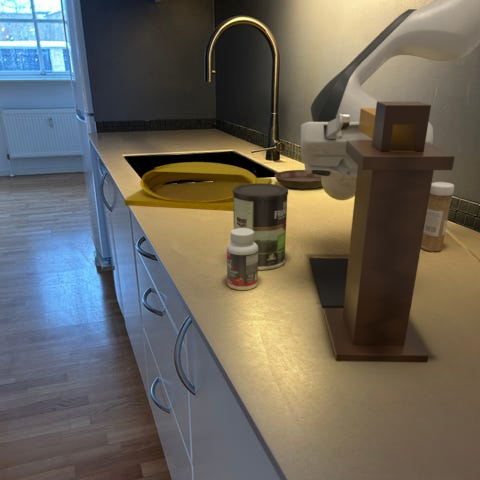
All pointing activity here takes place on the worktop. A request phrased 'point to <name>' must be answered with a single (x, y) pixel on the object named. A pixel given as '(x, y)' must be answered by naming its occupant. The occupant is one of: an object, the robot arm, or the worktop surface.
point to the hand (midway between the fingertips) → (375, 118)
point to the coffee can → (263, 219)
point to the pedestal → (384, 254)
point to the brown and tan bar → (396, 125)
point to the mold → (190, 172)
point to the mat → (330, 280)
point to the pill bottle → (242, 260)
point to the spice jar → (437, 216)
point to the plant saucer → (298, 179)
